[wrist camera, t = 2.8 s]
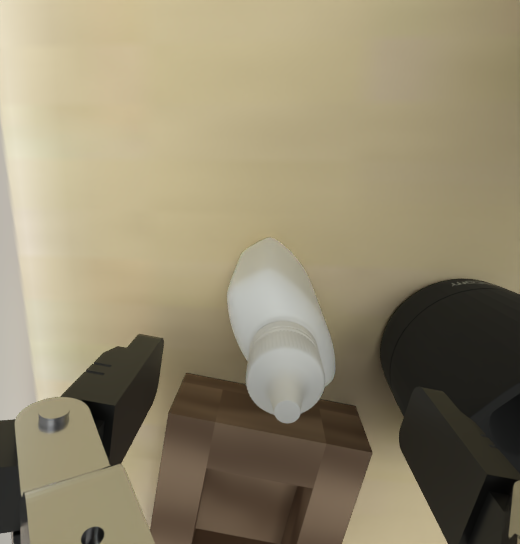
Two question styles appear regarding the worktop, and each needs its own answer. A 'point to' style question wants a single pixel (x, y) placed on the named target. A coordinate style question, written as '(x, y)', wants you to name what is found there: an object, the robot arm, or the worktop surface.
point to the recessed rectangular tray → (256, 470)
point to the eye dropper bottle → (279, 330)
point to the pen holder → (461, 354)
